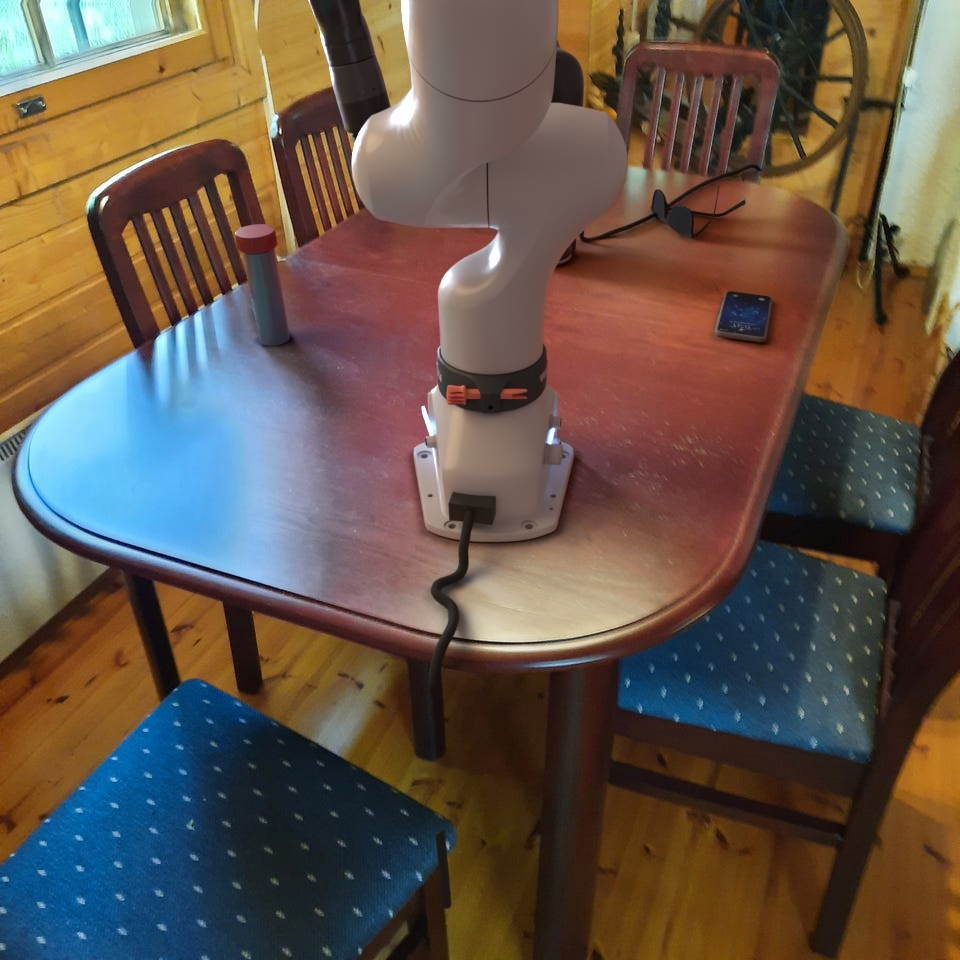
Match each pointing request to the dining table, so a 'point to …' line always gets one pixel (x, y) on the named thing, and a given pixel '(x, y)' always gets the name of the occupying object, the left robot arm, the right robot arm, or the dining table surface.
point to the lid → (256, 239)
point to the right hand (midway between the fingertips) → (390, 201)
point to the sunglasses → (682, 214)
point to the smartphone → (744, 316)
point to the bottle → (267, 297)
